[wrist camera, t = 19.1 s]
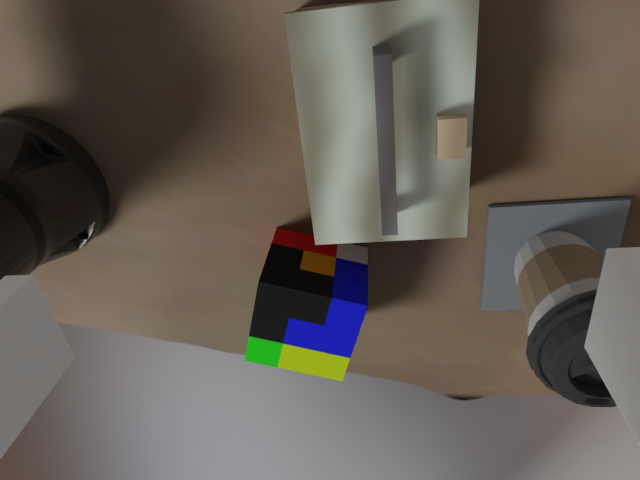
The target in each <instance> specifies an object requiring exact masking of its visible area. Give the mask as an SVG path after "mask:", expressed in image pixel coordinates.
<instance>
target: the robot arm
mask: <svg viewBox="0 0 640 480" xmlns="http://www.w3.org/2000/svg"><path fill="white" fill-rule="evenodd" d="M108 206H109V203H108V193H107V189H106V185H105V182H104V179H103V177H102V175H101V173H100V171H99V169H98V167H97V166H96V164H95V163H94V161H93V160H92V158H91V157H90V156H89V155H88V153H87V152H86V151H85V150H84V149H83V148H82V147H81V146H80V145H79V144H78V143H77V142H76V141H75V140H73V139H72V138H71V137H70V136H68V135H67V134H65V133H64V132H62V131H61V130H59V129H57V128H56V127H54V126H52V125H50V124H47V123H45V122H43V121H40V120H37V119H33V118H29V117H24V116H2V117H0V459H1V458H2V456H3V455H4V454H5V452H6V451H7V450H8V448H9V447H10V445H11V444H12V443H13V441H14V440H15V439H16V437H17V436H18V435H19V433H20V432H21V430H22V429H23V428H24V426H25V425H26V423H27V422H28V421H29V420H30V418H31V417H32V415H33V414H34V413H35V411H36V410H37V409H38V407H39V406H40V404H41V403H42V402H43V400H44V399H45V398H46V396H47V395H48V394H49V392H50V391H51V389H52V388H53V387H54V385H55V384H56V383H57V381H58V380H59V379H60V377H61V376H62V374H63V373H64V372H65V370H66V369H67V368H68V366H69V365H70V363H71V362H72V360H73V359H74V358H75V356H74V354H73V352H72V350H71V348H70V346H69V344H68V342H67V340H66V339H65V336H64V334H63V332H62V330H61V328H60V326H59V324H58V322H57V320H56V318H55V316H54V314H53V312H52V310H51V308H50V306H49V304H48V302H47V300H46V298H45V296H44V294H43V292H42V290H41V289H40V287H39V285H38V283H37V281H36V279H35V277H34V275H29V274H30V273H31V272H32V271H33V270H34V269H35V268H36V267H37V266H39V265H42V264H45V263H47V262H50V261H52V260H55V259H58V258H60V257H63V256H65V255H68V254H70V253H73V252H75V251H77V250H79V249H80V248H82V247H83V246H85V245H86V244H87V243H88V242H89V241H90V240H91V239H92V238H93V237H94V236H95V235H96V234H97V233H98V232H99V231H100V230H101V228H102V227H103V225H104V223H105V220H106V218H107V214H108ZM584 347H585V349H586V351H587V353H588V355H589V356H590V358H591V360H592V362H593V364H594V365H595V367H596V369H597V371H598V373H599V374H600V376H601V378H602V380H603V382H604V383H605V385H606V387H607V389H608V391H609V392H610V394H611V396H612V398H613V400H614V401H615V403H616V405H617V407H618V409H619V410H620V412H621V414H622V416H623V418H624V419H625V421H626V423H627V425H628V427H629V428H630V430H631V432H632V434H633V436H634V437H635V439H636V441H637V443H638V445H639V446H640V247H628V248H607V249H606V254H605V258H604V262H603V267H602V271H601V276H600V280H599V284H598V289H597V293H596V297H595V302H594V306H593V311H592V315H591V319H590V324H589V328H588V332H587V337H586V341H585V345H584Z"/></svg>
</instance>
